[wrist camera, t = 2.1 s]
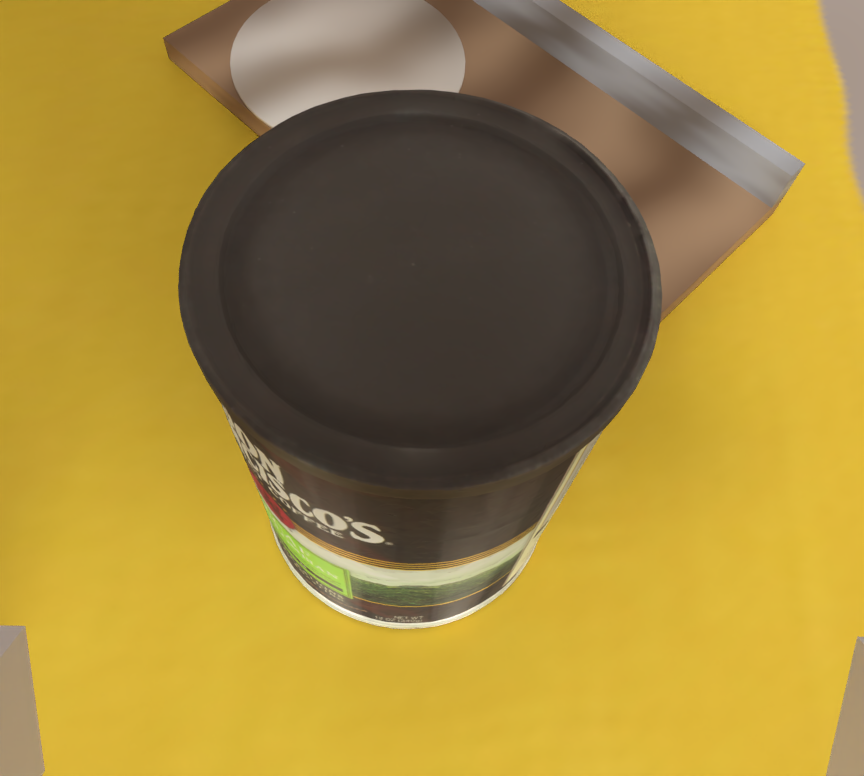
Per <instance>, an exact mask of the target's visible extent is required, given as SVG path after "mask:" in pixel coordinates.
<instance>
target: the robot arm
mask: <svg viewBox="0 0 864 776" xmlns="http://www.w3.org/2000/svg"><path fill="white" fill-rule="evenodd" d="M44 771H45V768H44V761H43V754H42V746H41V739H40V732H39V724H38V717H37V710H36V702H35V695H34V688H33V680H32V673H31V666H30V658H29V651H28V644H27V636H26V629H25V626H0V776H42V775H43V773H44ZM826 776H864V637H857V641H856V645H855V650H854V654H853V658H852V663H851V667H850V672H849V676H848V681H847V685H846V690H845V694H844V698H843V703H842V707H841V712H840V716H839V721H838V725H837V729H836V734H835V738H834V743H833V747H832V752H831V756H830V760H829V765H828V769H827V774H826Z"/></svg>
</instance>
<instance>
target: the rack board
mask: <svg viewBox="0 0 864 776" xmlns="http://www.w3.org/2000/svg"><path fill="white" fill-rule="evenodd" d="M163 39H164V43H165V46H166V50H167V53H168V56H169V59H170V60H171V61H172V62H174V63H175V64H176V65H177V66H178V67H179V68H181V69H182V70H183V71H184V72H185V73H186V74H188V75H189V76H190V77H191V78H192V79H193V80H195V81H196V82H197V83H198V84H199V85H200V86H202V87H203V88H204V89H205V90H206V91H207V92H209V93H210V94H211V95H212V96H213V97H214V98H216V99H217V100H218V101H219V102H220V103H221V104H223V105H224V106H225V107H226V108H227V109H228V110H230V111H231V112H232V113H233V114H234V115H235V116H237V117H238V118H239V119H240V120H241V121H242V122H244V123H245V124H246V125H247V126H248V127H249V128H251V129H252V130H253V131H254V132H255V133H256V134H258V135H259V136H261V135H263V134H264V133H266V132H267V131H269V130H270V129H272V128H273V127H275V126H276V125H278V124H280V123H281V122H283V121H285V120H287V119H288V118H290V117H292V116H294V115H296V114H299V113H301V112H303V111H305V110H308V109H310V108H312V107H315V106H318V105H321V104H324V103H327V102H331V101H334V100H337V99H341V98H344V97H349V96H353V95H358V94H362V93H370V92H380V91H390V90H437V91H447V92H455V93H461V94H467V95H472V96H477V97H482V98H486V99H490V100H493V101H497V102H500V103H503V104H507V105H509V106H512V107H514V108H517V109H520V110H522V111H525V112H527V113H529V114H531V115H534V116H536V117H538V118H540V119H542V120H544V121H546V122H548V123H550V124H551V125H553V126H555V127H557V128H559V129H560V130H562V131H564V132H565V133H567V134H568V135H569V136H571V137H572V138H574V139H576V140H577V141H578V142H580V143H581V144H582V145H584V146H585V147H586V148H587V149H588V150H589V151H590V152H592V153H593V154H594V155H595V156H596V157H597V158H598V159H599V160H600V161H601V162H602V163H603V164H604V165H605V166H606V167H607V168H608V169H609V170H610V171H611V172H612V173H613V174H614V175H615V176H616V178H617V179H618V181H619V182H620V183H621V184H622V185H623V186H624V188H625V189H626V190H627V192H628V193H629V195H630V196H631V198H632V199H633V201H634V203H635V204H636V206H637V207H638V209H639V211H640V213H641V215H642V217H643V219H644V221H645V223H646V225H647V228H648V230H649V233H650V235H651V238H652V240H653V244H654V247H655V251H656V254H657V258H658V261H659V266H660V273H661V286H662V310H661V320H660V322H661V321H662V320H663V319H664V318H665V317H666V316H667V315H668V314H669V313H670V312H671V311H672V310H673V309H674V308H675V307H676V306H678V305H679V304H680V303H681V302H682V301H683V300H684V299H685V298H686V297H687V296H688V295H689V294H690V293H691V292H692V291H693V290H694V289H695V288H696V287H697V286H698V285H699V284H700V283H701V282H702V281H703V280H705V279H706V278H707V277H708V276H709V275H710V274H711V273H712V272H713V271H714V270H715V269H716V268H717V267H718V266H719V265H720V264H721V263H722V262H723V261H724V260H725V259H726V258H727V257H728V256H729V255H730V254H732V253H733V252H734V251H735V250H736V249H737V248H738V247H739V246H740V245H741V244H742V243H743V242H744V241H745V240H746V239H747V238H748V237H749V236H750V235H751V234H752V233H753V232H754V231H755V230H756V229H757V228H759V227H760V226H761V225H762V224H763V223H764V222H765V221H766V220H767V219H768V218H769V217H770V216H771V215H772V214H773V213H774V211H775V210H776V208H777V207H778V205H779V203H780V202H781V200H782V199H783V197H784V196H785V194H786V193H787V191H788V190H789V188H790V186H791V185H792V183H793V182H794V180H795V179H796V177H797V176H798V174H799V173H800V171H801V170H802V168H803V166H804V165H805V163H803V162H802V161H800V160H799V159H797V158H796V157H794V156H793V155H791V154H790V153H788V152H787V151H785V150H784V149H782V148H781V147H779V146H778V145H776V144H775V143H773V142H772V141H770V140H769V139H767V138H766V137H764V136H763V135H761V134H760V133H758V132H757V131H755V130H754V129H752V128H751V127H749V126H748V125H746V124H745V123H743V122H741V121H740V120H738V119H737V118H735V117H734V116H732V115H731V114H729V113H728V112H726V111H725V110H723V109H722V108H720V107H719V106H717V105H716V104H714V103H713V102H711V101H710V100H708V99H707V98H705V97H704V96H702V95H701V94H699V93H698V92H696V91H695V90H693V89H692V88H690V87H689V86H687V85H686V84H684V83H683V82H681V81H680V80H678V79H677V78H675V77H674V76H672V75H671V74H669V73H668V72H666V71H665V70H663V69H662V68H660V67H659V66H657V65H656V64H654V63H653V62H651V61H650V60H648V59H647V58H645V57H644V56H642V55H641V54H639V53H638V52H636V51H635V50H633V49H632V48H630V47H629V46H627V45H626V44H624V43H623V42H621V41H620V40H618V39H617V38H615V37H614V36H612V35H611V34H609V33H608V32H606V31H605V30H603V29H602V28H600V27H599V26H597V25H596V24H594V23H593V22H591V21H590V20H588V19H587V18H585V17H584V16H582V15H581V14H579V13H578V12H576V11H575V10H573V9H572V8H570V7H569V6H567V5H566V4H564V3H563V2H561V1H560V0H230V1H229V2H227V3H225V4H223V5H221V6H220V7H218V8H216V9H214V10H212V11H211V12H209V13H207V14H205V15H203V16H202V17H200V18H198V19H196V20H194V21H193V22H191V23H189V24H187V25H185V26H184V27H182V28H180V29H178V30H176V31H175V32H173V33H171V34H169V35H167V36H166V37H164V38H163Z"/></svg>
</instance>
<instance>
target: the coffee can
mask: <svg viewBox="0 0 864 776" xmlns="http://www.w3.org/2000/svg"><path fill="white" fill-rule="evenodd" d="M178 289H179V303H180V312H181V317H182V321H183V326H184V330H185V333H186V336H187V339H188V343H189V345H190V347H191V350H192V352H193V354H194V356H195V358H196V360H197V362H198V364H199V366H200V368H201V370H202V372H203V374H204V376H205V378H206V380H207V382H208V383H209V385H210V386H211V388H212V390H213V391H214V393H215V394H216V396H217V398H218V399H219V401H220V402H221V404H222V407H223V409H224V411H225V414H226V417H227V419H228V421H229V424H230V426H231V429H232V431H233V433H234V435H235V438H236V441H237V443H238V445H239V447H240V449H241V452H242V454H243V456H244V458H245V461H246V463H247V465H248V468H249V470H250V473H251V475H252V477H253V480H254V482H255V485H256V487H257V490H258V492H259V494H260V496H261V499H262V501H263V504H264V506H265V509H266V512H267V514H268V516H269V519H270V523H271V527H272V530H273V534H274V537H275V540H276V543H277V545H278V547H279V549H280V551H281V553H282V555H283V557H284V559H285V561H286V562H287V564H288V566H289V567H290V569H291V571H292V572H293V574H294V575H295V576H296V578H297V579H298V580H299V581H300V582H301V583H302V584H303V585H304V586H305V587H306V588H307V589H308V590H309V591H310V592H311V593H312V594H313V595H314V596H316V597H317V598H318V599H320V600H321V601H322V602H324V603H325V604H327V605H328V606H329V607H331V608H333V609H335V610H337V611H338V612H340V613H342V614H345V615H347V616H349V617H351V618H354V619H356V620H359V621H362V622H365V623H369V624H372V625H376V626H381V627H388V628H393V629H418V628H428V627H434V626H439V625H443V624H446V623H450V622H453V621H455V620H458V619H461V618H464V617H466V616H468V615H470V614H472V613H474V612H476V611H477V610H479V609H481V608H483V607H484V606H486V605H487V604H489V603H490V602H492V601H493V600H494V599H495V598H497V597H498V596H499V595H501V594H502V593H503V592H504V591H505V590H506V589H507V588H508V587H509V586H510V585H511V584H512V583H513V582H514V581H515V579H516V578H517V577H518V576H519V574H520V573H521V572H522V570H523V568H524V567H525V565H526V564H527V562H528V561H529V559H530V557H531V555H532V553H533V551H534V549H535V546H536V544H537V541H538V539H539V537H540V535H541V534H542V532H543V531H544V529H545V527H546V526H547V524H548V522H549V521H550V519H551V517H552V516H553V514H554V512H555V511H556V509H557V508H558V506H559V505H560V503H561V501H562V499H563V497H564V496H565V494H566V492H567V490H568V488H569V487H570V485H571V483H572V482H573V480H574V478H575V477H576V475H577V473H578V472H579V470H580V468H581V467H582V465H583V463H584V462H585V460H586V458H587V457H588V455H589V453H590V451H591V450H592V448H593V446H594V445H595V443H596V441H597V440H598V438H599V436H600V434H601V433H602V431H603V429H604V428H605V427H606V426H607V425H608V424H609V423H610V422H611V421H612V419H613V418H614V417H615V416H616V415H617V414H618V412H619V411H620V410H621V408H622V407H623V406H624V404H625V403H626V401H627V400H628V399H629V397H630V396H631V395H632V393H633V392H634V390H635V389H636V387H637V385H638V383H639V381H640V379H641V377H642V375H643V373H644V371H645V369H646V367H647V364H648V362H649V360H650V358H651V355H652V352H653V349H654V346H655V342H656V337H657V333H658V329H659V324H660V320H661V310H662V286H661V273H660V266H659V261H658V258H657V254H656V251H655V247H654V244H653V240H652V238H651V235H650V233H649V230H648V228H647V225H646V223H645V221H644V219H643V217H642V215H641V213H640V211H639V209H638V207H637V206H636V204H635V203H634V201H633V199H632V198H631V196H630V195H629V193H628V192H627V190H626V189H625V188H624V186H623V185H622V184H621V183H620V182H619V181H618V179H617V178H616V176H615V175H614V174H613V173H612V172H611V171H610V170H609V169H608V168H607V167H606V166H605V165H604V164H603V163H602V162H601V161H600V160H599V159H598V158H597V157H596V156H595V155H594V154H593V153H592V152H590V151H589V150H588V149H587V148H586V147H585V146H584V145H582V144H581V143H580V142H578V141H577V140H576V139H574V138H572V137H571V136H569V135H568V134H567V133H565V132H564V131H562V130H560V129H559V128H557V127H555V126H553V125H551V124H550V123H548V122H546V121H544V120H542V119H540V118H538V117H536V116H534V115H531V114H529V113H527V112H525V111H522V110H520V109H517V108H514V107H512V106H509V105H507V104H503V103H500V102H497V101H493V100H490V99H486V98H482V97H477V96H472V95H467V94H461V93H455V92H447V91H437V90H390V91H380V92H370V93H362V94H358V95H353V96H349V97H344V98H341V99H337V100H334V101H331V102H327V103H324V104H321V105H318V106H315V107H312V108H310V109H308V110H305V111H303V112H301V113H299V114H296V115H294V116H292V117H290V118H288V119H287V120H285V121H283V122H281V123H280V124H278V125H276V126H275V127H273V128H272V129H270V130H269V131H267V132H266V133H264V134H263V135H261V136H260V137H259V138H257V139H256V140H254V141H253V142H252V143H250V144H249V145H248V146H247V147H245V148H244V149H243V150H242V151H241V152H240V153H238V154H237V155H236V156H235V157H234V158H233V159H232V160H231V161H230V162H229V163H228V164H227V165H226V166H225V167H224V168H223V169H222V170H221V171H220V172H219V174H218V175H217V177H216V178H215V179H214V181H213V182H212V183H211V185H210V186H209V187H208V189H207V190H206V192H205V193H204V195H203V197H202V198H201V200H200V202H199V204H198V206H197V208H196V209H195V212H194V215H193V218H192V220H191V222H190V225H189V227H188V230H187V233H186V237H185V241H184V245H183V249H182V254H181V260H180V268H179V285H178Z"/></svg>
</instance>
